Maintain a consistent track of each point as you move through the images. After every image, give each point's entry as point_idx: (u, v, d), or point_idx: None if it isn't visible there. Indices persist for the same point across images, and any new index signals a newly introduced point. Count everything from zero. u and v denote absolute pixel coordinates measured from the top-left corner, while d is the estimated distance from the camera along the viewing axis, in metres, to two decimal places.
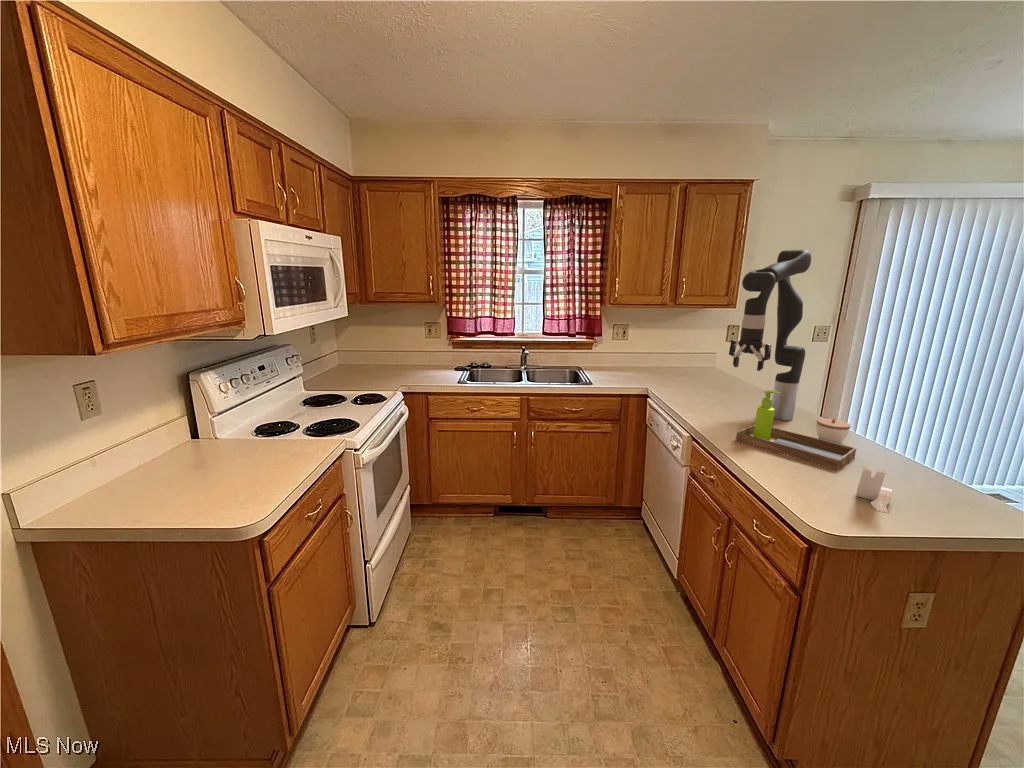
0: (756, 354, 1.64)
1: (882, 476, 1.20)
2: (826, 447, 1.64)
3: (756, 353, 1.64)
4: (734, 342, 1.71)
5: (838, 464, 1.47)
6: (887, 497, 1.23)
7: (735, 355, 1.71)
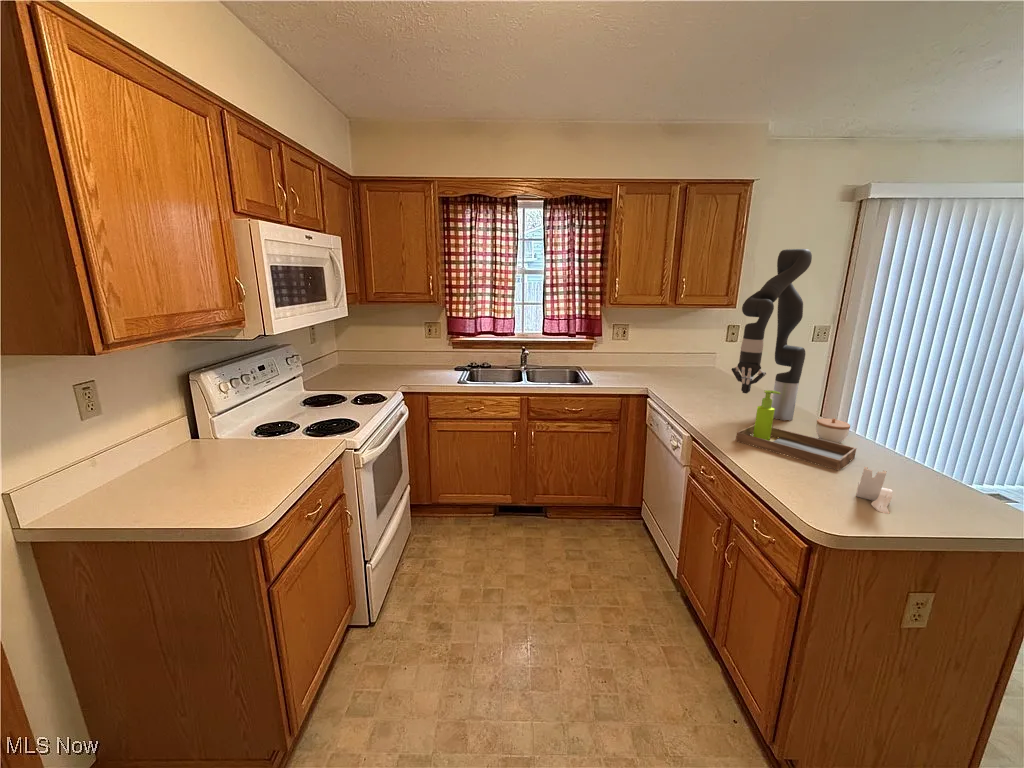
0: (748, 377, 1.73)
1: (883, 476, 1.20)
2: (826, 447, 1.64)
3: (748, 376, 1.73)
4: (734, 369, 1.78)
5: (838, 464, 1.47)
6: (887, 497, 1.23)
7: (743, 381, 1.75)
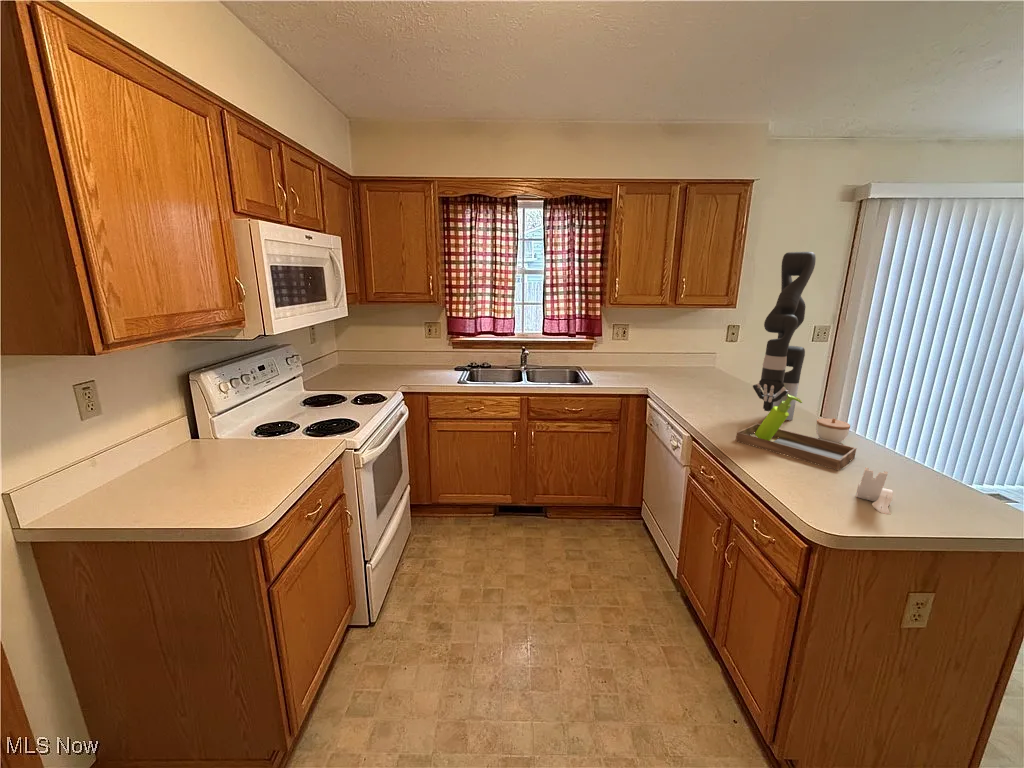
0: (770, 395, 1.68)
1: (884, 477, 1.19)
2: (826, 447, 1.64)
3: (771, 394, 1.67)
4: (756, 386, 1.72)
5: (838, 464, 1.47)
6: (888, 498, 1.22)
7: (765, 398, 1.70)
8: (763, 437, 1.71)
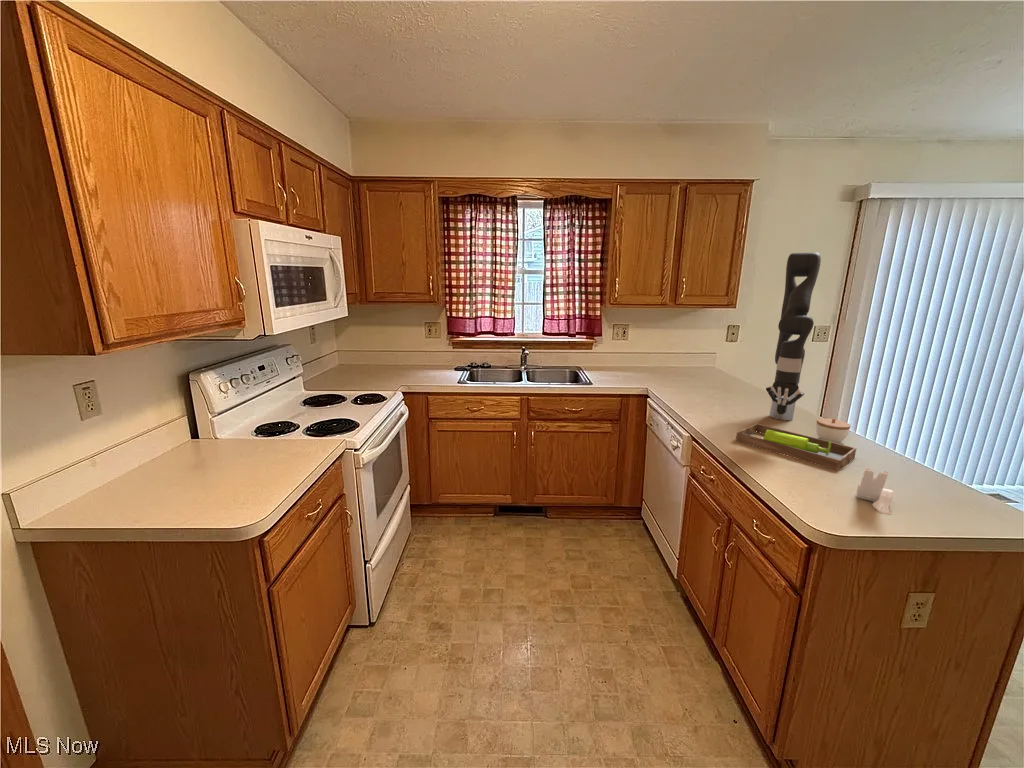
0: (784, 398, 1.64)
1: (884, 477, 1.19)
2: (826, 447, 1.64)
3: (785, 397, 1.64)
4: (769, 388, 1.69)
5: (838, 464, 1.47)
6: (888, 498, 1.22)
7: (779, 401, 1.66)
8: None
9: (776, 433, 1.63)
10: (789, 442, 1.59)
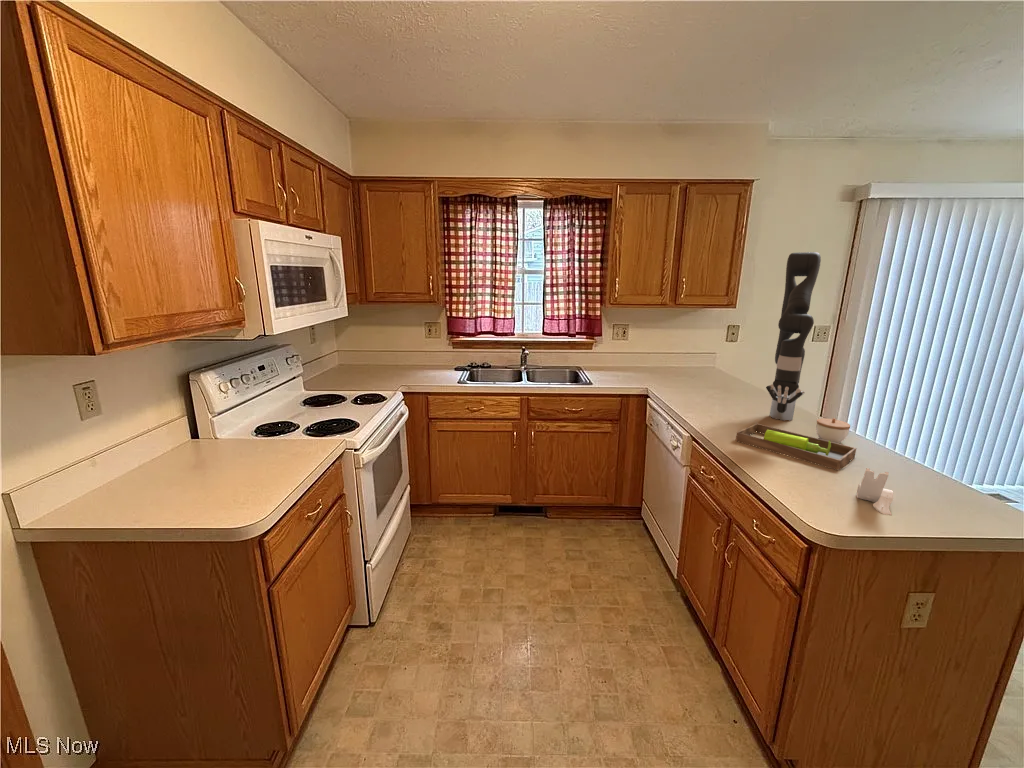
0: (784, 396, 1.64)
1: (885, 478, 1.19)
2: (826, 447, 1.64)
3: (785, 395, 1.64)
4: (769, 387, 1.68)
5: (838, 464, 1.47)
6: (889, 498, 1.22)
7: (779, 400, 1.66)
8: None
9: (776, 433, 1.63)
10: (789, 442, 1.59)
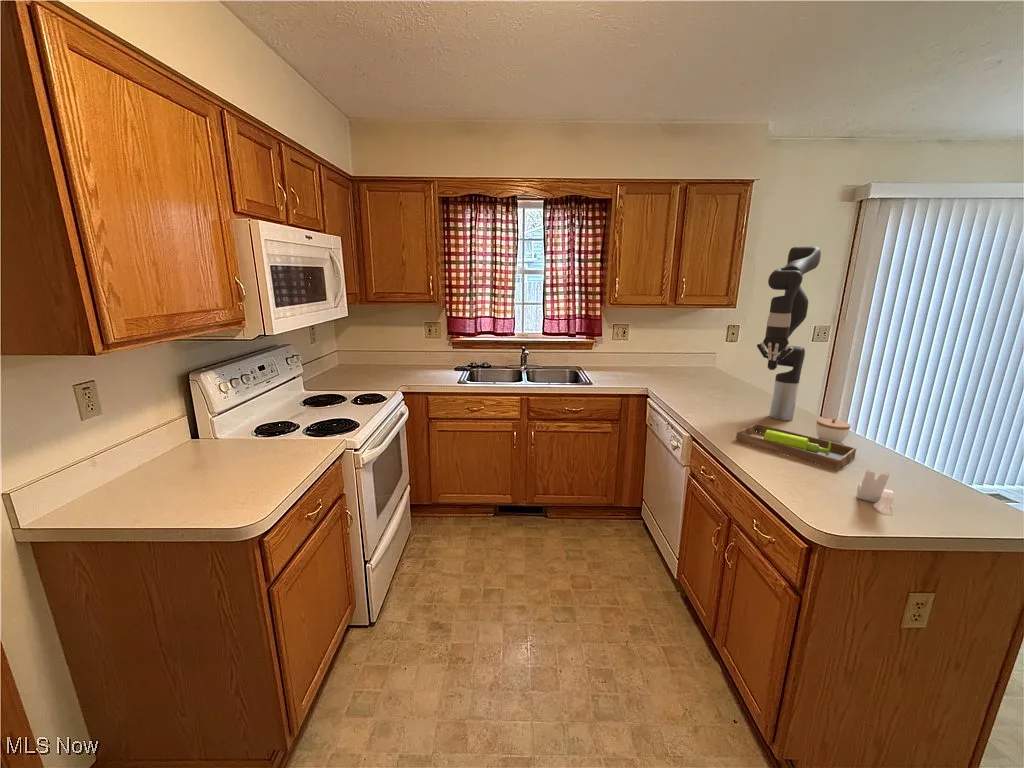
0: (775, 353, 1.67)
1: (886, 478, 1.19)
2: (826, 447, 1.64)
3: (775, 352, 1.67)
4: (760, 345, 1.71)
5: (838, 464, 1.47)
6: (889, 499, 1.22)
7: (769, 357, 1.69)
8: None
9: (776, 433, 1.63)
10: (789, 442, 1.59)
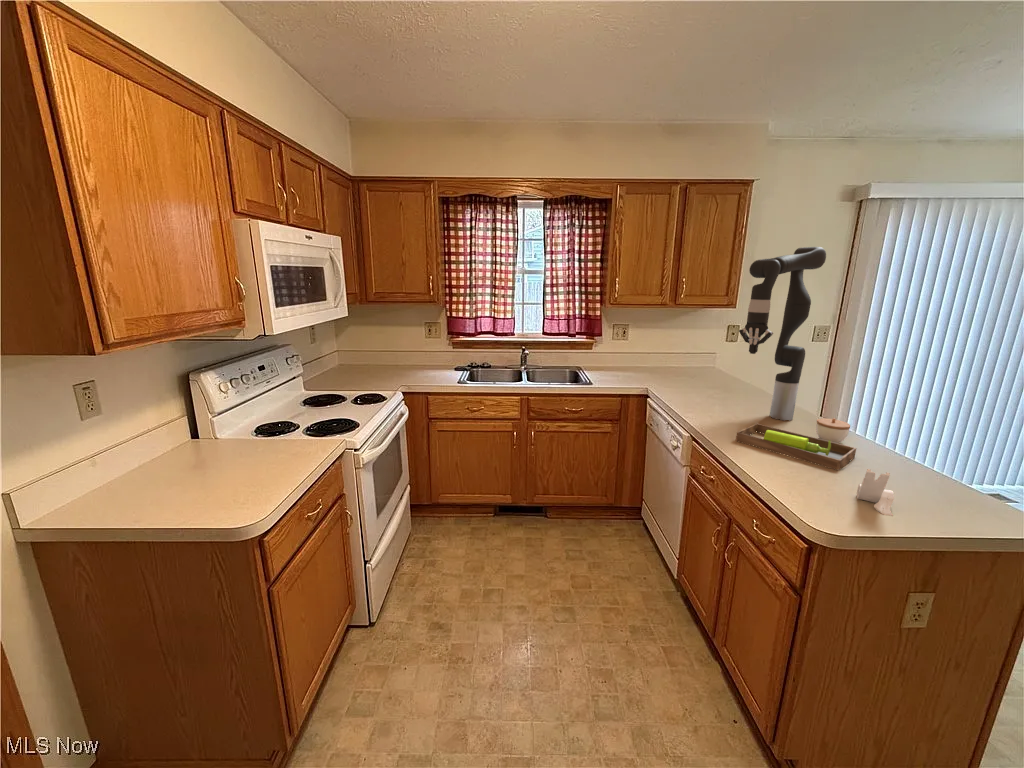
0: (755, 337, 1.78)
1: (886, 478, 1.19)
2: (826, 447, 1.64)
3: (756, 337, 1.77)
4: (742, 330, 1.82)
5: (838, 464, 1.47)
6: (889, 499, 1.22)
7: (750, 342, 1.80)
8: None
9: (776, 433, 1.63)
10: (789, 442, 1.59)
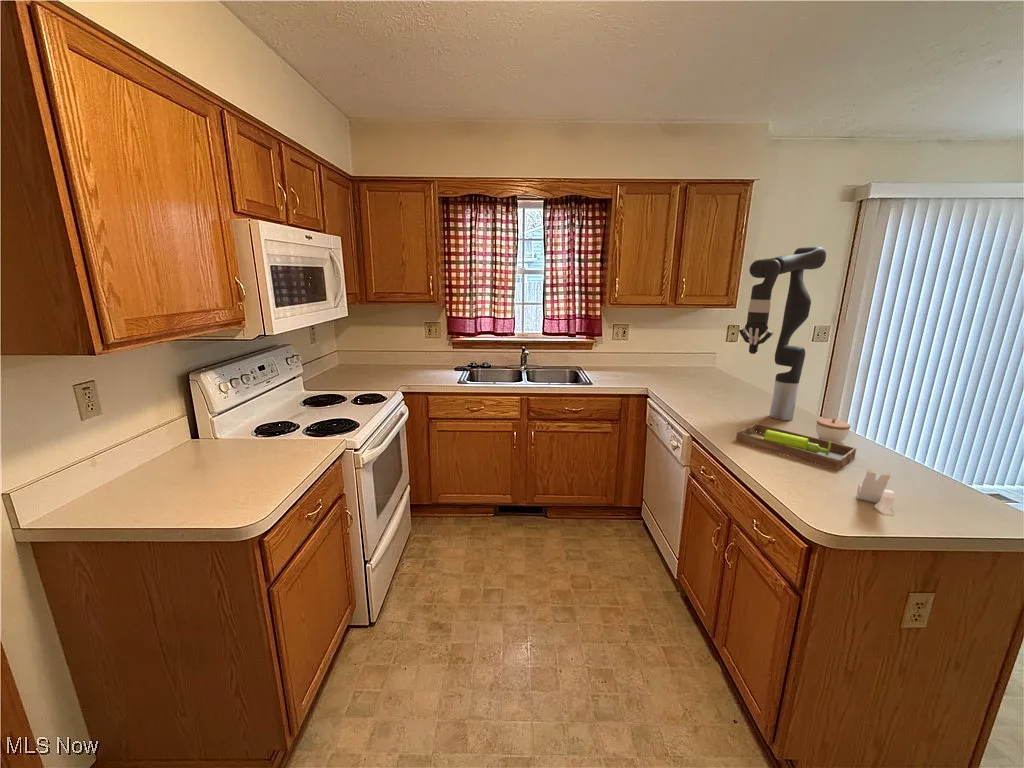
0: (755, 337, 1.78)
1: (887, 479, 1.18)
2: (826, 447, 1.64)
3: (756, 337, 1.77)
4: (742, 330, 1.82)
5: (838, 464, 1.47)
6: (890, 499, 1.22)
7: (750, 342, 1.80)
8: None
9: (776, 433, 1.63)
10: (789, 442, 1.59)
